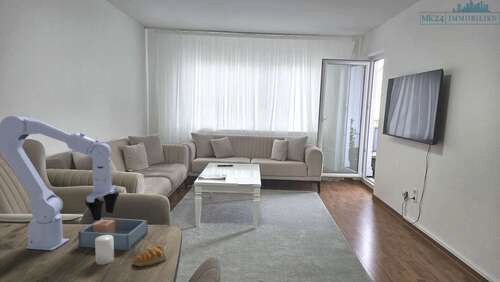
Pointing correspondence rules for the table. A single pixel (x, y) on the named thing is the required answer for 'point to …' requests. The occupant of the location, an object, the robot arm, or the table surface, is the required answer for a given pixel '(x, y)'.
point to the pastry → (150, 256)
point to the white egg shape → (104, 249)
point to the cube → (104, 226)
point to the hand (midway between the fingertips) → (103, 216)
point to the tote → (116, 233)
